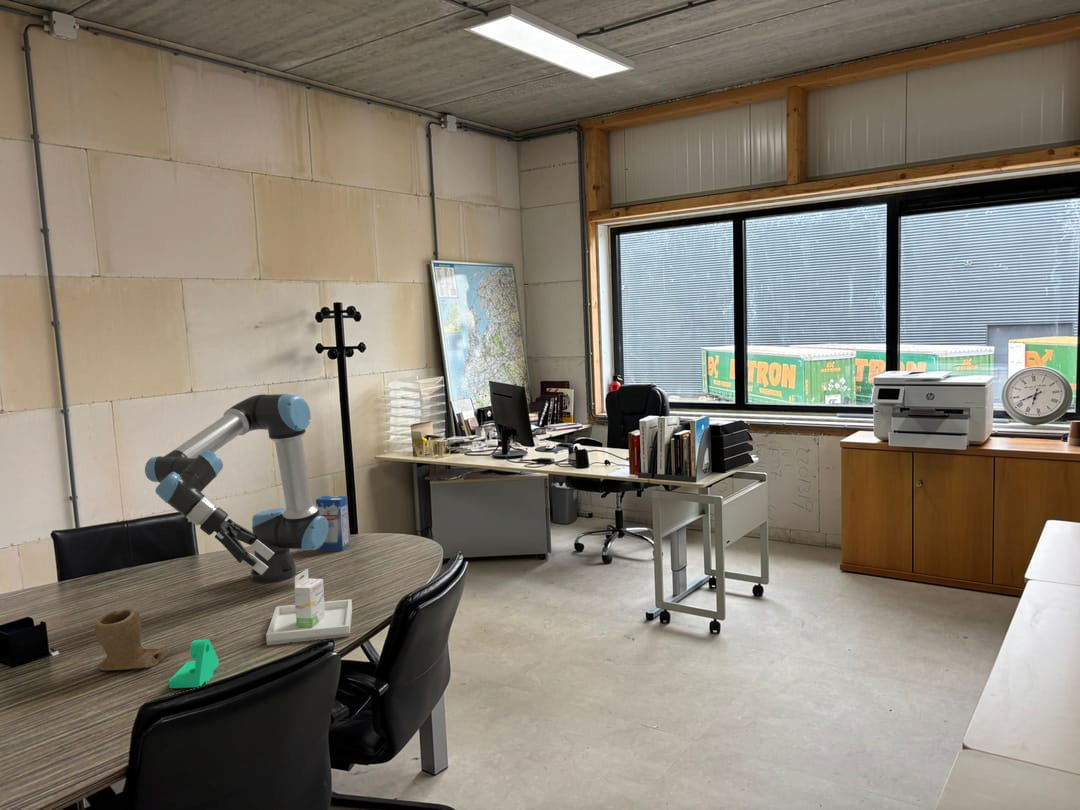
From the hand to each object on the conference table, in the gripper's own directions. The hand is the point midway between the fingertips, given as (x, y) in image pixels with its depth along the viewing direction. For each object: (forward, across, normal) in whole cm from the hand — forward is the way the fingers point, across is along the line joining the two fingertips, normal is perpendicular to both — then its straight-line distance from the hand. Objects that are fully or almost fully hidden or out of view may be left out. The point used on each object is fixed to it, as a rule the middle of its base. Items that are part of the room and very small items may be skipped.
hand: (268, 563), depth 225 cm
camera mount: (+3, +29, -25) cm, 38 cm away
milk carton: (+23, -80, -5) cm, 84 cm away
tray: (+21, +1, -6) cm, 22 cm away
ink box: (+21, 0, -6) cm, 21 cm away
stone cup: (-10, +16, -37) cm, 42 cm away
